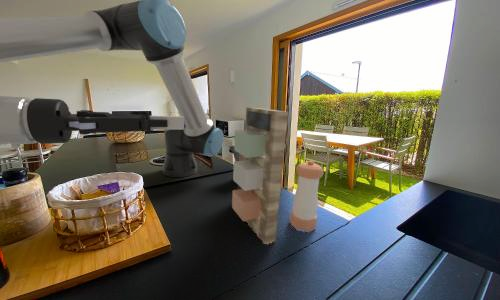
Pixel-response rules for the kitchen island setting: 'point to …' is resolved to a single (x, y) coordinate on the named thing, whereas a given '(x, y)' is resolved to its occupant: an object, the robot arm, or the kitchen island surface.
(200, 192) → the kitchen island surface
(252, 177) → the key middle
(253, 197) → the block
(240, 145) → the key top
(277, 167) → the keypad panel
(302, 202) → the salt shaker
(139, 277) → the kitchen island surface
